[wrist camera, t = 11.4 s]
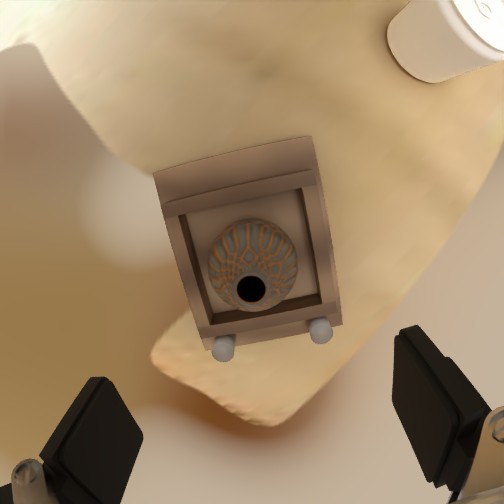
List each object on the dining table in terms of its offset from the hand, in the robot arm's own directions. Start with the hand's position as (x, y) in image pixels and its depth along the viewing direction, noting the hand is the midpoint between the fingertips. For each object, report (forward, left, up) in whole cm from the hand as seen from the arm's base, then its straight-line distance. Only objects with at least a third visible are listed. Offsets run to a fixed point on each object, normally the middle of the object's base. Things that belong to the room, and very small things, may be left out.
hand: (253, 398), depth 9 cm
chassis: (+1, -1, -20) cm, 20 cm away
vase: (+1, -1, -19) cm, 19 cm away
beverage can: (-16, +20, -21) cm, 33 cm away
